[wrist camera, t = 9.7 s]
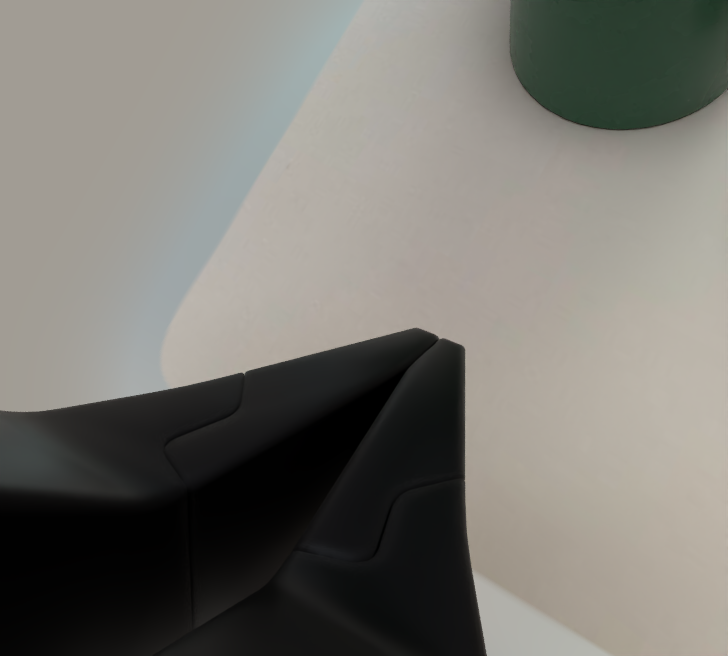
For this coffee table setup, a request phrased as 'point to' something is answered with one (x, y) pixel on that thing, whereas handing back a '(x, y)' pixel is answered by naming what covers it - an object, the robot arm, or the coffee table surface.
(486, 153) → the coffee table surface
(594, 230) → the coffee table surface
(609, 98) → the green cylinder
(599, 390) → the coffee table surface
